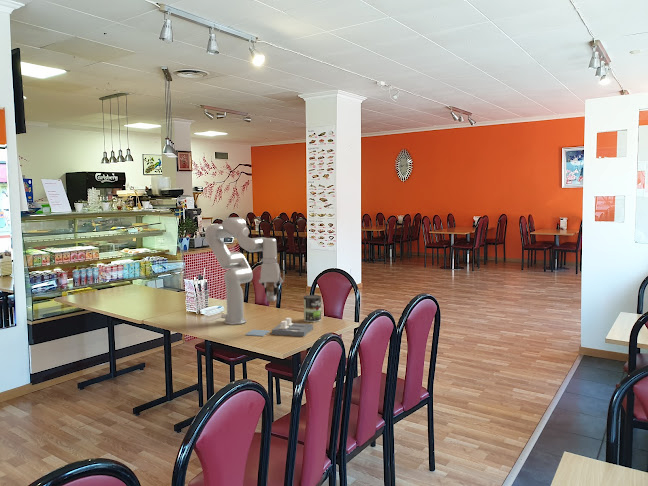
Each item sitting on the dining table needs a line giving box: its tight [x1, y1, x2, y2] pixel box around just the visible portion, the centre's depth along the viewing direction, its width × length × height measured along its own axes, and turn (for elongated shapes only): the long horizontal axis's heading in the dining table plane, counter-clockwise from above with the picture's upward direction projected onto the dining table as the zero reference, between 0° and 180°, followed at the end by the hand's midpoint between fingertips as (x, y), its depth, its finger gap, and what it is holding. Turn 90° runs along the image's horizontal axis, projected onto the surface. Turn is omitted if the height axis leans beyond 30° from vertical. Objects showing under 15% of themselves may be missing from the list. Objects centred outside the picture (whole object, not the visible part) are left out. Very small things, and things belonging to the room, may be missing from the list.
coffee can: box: [303, 294, 322, 323], centre depth 299 cm, size 10×10×14 cm
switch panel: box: [271, 322, 314, 337], centre depth 275 cm, size 18×16×3 cm
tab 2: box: [284, 317, 294, 326], centre depth 278 cm, size 4×4×4 cm
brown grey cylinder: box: [266, 282, 277, 302], centre depth 275 cm, size 4×4×10 cm
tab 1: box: [279, 320, 289, 329], centre depth 271 cm, size 4×4×4 cm
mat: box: [244, 329, 271, 337], centre depth 272 cm, size 10×10×1 cm
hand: (271, 294), depth 276 cm, fingers closed on brown grey cylinder, 4 cm apart
